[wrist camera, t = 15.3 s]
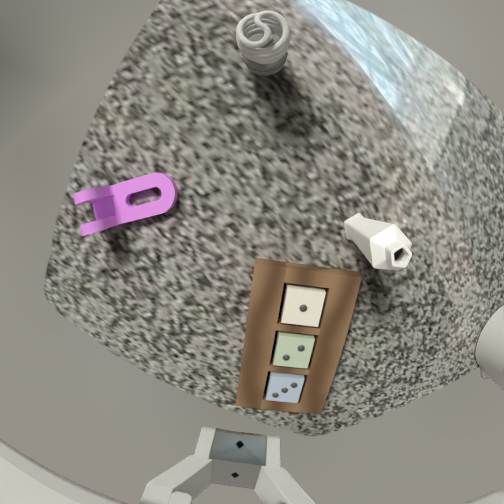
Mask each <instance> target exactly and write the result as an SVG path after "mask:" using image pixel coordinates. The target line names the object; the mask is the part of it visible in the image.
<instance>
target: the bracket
mask: <svg viewBox="0 0 504 504" xmlns="http://www.w3.org/2000/svg"><path fill="white" fill-rule="evenodd" d="M154 187H158V188H159V189H160V190H161V193H162V195H161V198H160V199H159V200H157V201H153V202H149V203H146V204H142V205H138V206H133V205H131V203H130V201H129V199H130V196H131V195H132V194H133V193H136V192H140V191H143V190H147V189H151V188H154ZM73 195H74V200H75V205H79V204H84V203H90V202H93V207H94V212H95V216H96V221H93V222H90V223H86V224H83V225H80V227H81V232H82V236H84V235H88V234H91V233H94V232H98V231H101V230H104V229H107V228H110V227H113V226H116V225H119V224H122V223H126V222H130V221H134V220H138V219H142V218H146V217H150V216H154V215H159V214H162V213H165V212H167V211H169V210H170V209H171V208H172V207H173V206H174V205H175V203H176V200H177V196H178V190H177V186H176V184H175V182H174V180H173V179H172V178H171V177H170V176H168V175H166V174H163V173H151V174H148V175H144V176H141V177H138V178H134V179H131V180H128V181H125V182H122V183H118V184H115V185H112V186H105V187H95V188H90V189H86V190H83V191H80V192H77V193H75V194H73Z"/></svg>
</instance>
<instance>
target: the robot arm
mask: <svg viewBox="0 0 504 504" xmlns="http://www.w3.org/2000/svg"><path fill="white" fill-rule="evenodd" d="M475 356H476V361H477V363H478V365H479V366H480V368H481V376H482V378H484V379H487V378H491V379H492V380H493V381H494V382H495V383H496V384H497V385H498V386H499V387H500V388H502V389H503V390H504V305H503V306H502V307H500V308H499V309H498V310H497V311H496V312H495V313H494V314H493V315H492V316H491V318H490V319H489V320H488V322H487V323H486V325H485V326H484V328H483V330H482V332H481V334H480V337H479V339H478V342H477V346H476V353H475ZM280 439H281V438H280V437H279V436H271V435H262V434H252V433H244V432H234V431H229V430H223V429H218V428H212V427H207V426H203V427H202V429H201V433H200V436H199V440H198V444H197V447H196V451H195V454H194V456H193V455H190V456H188V457H187V458H185V459H184V460H182V461H181V462H179V463H178V464H176V465H175V466H173V467H172V468H170V469H169V470H167V471H165V472H164V473H162V474H161V475H159V476H158V477H156V478H154V479H153V480H151V481H150V482H148V483H147V486H146V488H145V491H144V494H143V496H142V499H141V501H140V503H139V504H192V501H193V500H194V499H195V498H196V497H197V496H198V495H199V494H201V493H202V492H203V491H204V490H205V489H206V488H207V487H208V486H209V485H211V483H214V484H221V485H229V486H237V487H243V488H250V489H255V492H256V493H257V495H258V496H259V498H260V500H261V501H262V503H263V504H315V503H314V502H313V500H312V499H311V498H310V497H309V496H308V495H307V494H306V493H305V491H304V490H303V489H302V488H301V487H300V486H299V485H298V483H297V482H296V481H295V480H294V479H293V478H292V476H291V475H290V474H289V473H288V472H287V470H286V469H285V468H281V441H280ZM0 504H127V503H124V502H121V501H119V500H116V499H113V498H111V497H108V496H105V495H103V494H101V493H98V492H96V491H94V490H91V489H89V488H87V487H84V486H82V485H80V484H78V483H76V482H74V481H71V480H69V479H67V478H65V477H63V476H61V475H59V474H57V473H56V472H54V471H52V470H50V469H48V468H46V467H44V466H43V465H41V464H39V463H38V462H36V461H34V460H33V459H31V458H29V457H28V456H26V455H24V454H23V453H21V452H20V451H18V450H17V449H15V448H14V447H12V446H11V445H9V444H8V443H6V442H5V441H3V440H2V439H0ZM462 504H504V492H503V491H501V490H496V491H492V492H490V493H488V494H485V495H483V496H480V497H478V498H476V499H473V500H470V501H468V502H465V503H462Z"/></svg>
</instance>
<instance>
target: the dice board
mask: <svg viewBox="0 0 504 504" xmlns="http://www.w3.org/2000/svg"><path fill="white" fill-rule="evenodd" d="M361 278H362V277H361V276H360V275H359V274H358V273H357V272H355V271H348V270H340V269H333V268H325V267H318V266H311V265H303V264H296V263H289V262H282V261H274V260H267V259H260V258H256V261H255V266H254V274H253V281H252V289H251V296H250V304H249V311H248V319H247V326H246V333H245V341H244V348H243V355H242V363H241V370H240V377H239V385H238V392H237V399H236V406H243V407H251V408H258V409H267V410H277V411H287V412H300V413H317V414H321V412H322V409H323V407H324V404H325V401H326V398H327V396H328V393H329V390H330V387H331V384H332V381H333V378H334V375H335V372H336V369H337V366H338V363H339V359H340V356H341V353H342V350H343V346H344V343H345V339H346V336H347V333H348V329H349V325H350V322H351V318H352V314H353V311H354V307H355V303H356V299H357V295H358V291H359V287H360V282H361ZM284 282H285V283H292V284H300V285H308V286H315V287H323V288H325V292H326V294H325V299H324V303H323V307H322V312H321V316H320V320H319V325H318V327H314V326H305V325H296V324H288V323H281V316H278V315H279V310H280V304H281V298H282V292H283V286H284ZM276 331H285V332H293V333H302V334H311V335H314V338H315V341H314V345H313V349H312V353H311V357H310V361H309V364H308V368H307V369H306V368H295V367H286V366H277V365H273V357H271V353H272V348H273V343H274V337H275V332H276ZM268 371H272V372H281V373H290V374H301V375H304V383H303V386H302V390H301V393H300V396H299V400H298V403H290V402H279V401H270V400H266V391H264V389H265V384H266V379H267V374H268Z"/></svg>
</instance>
